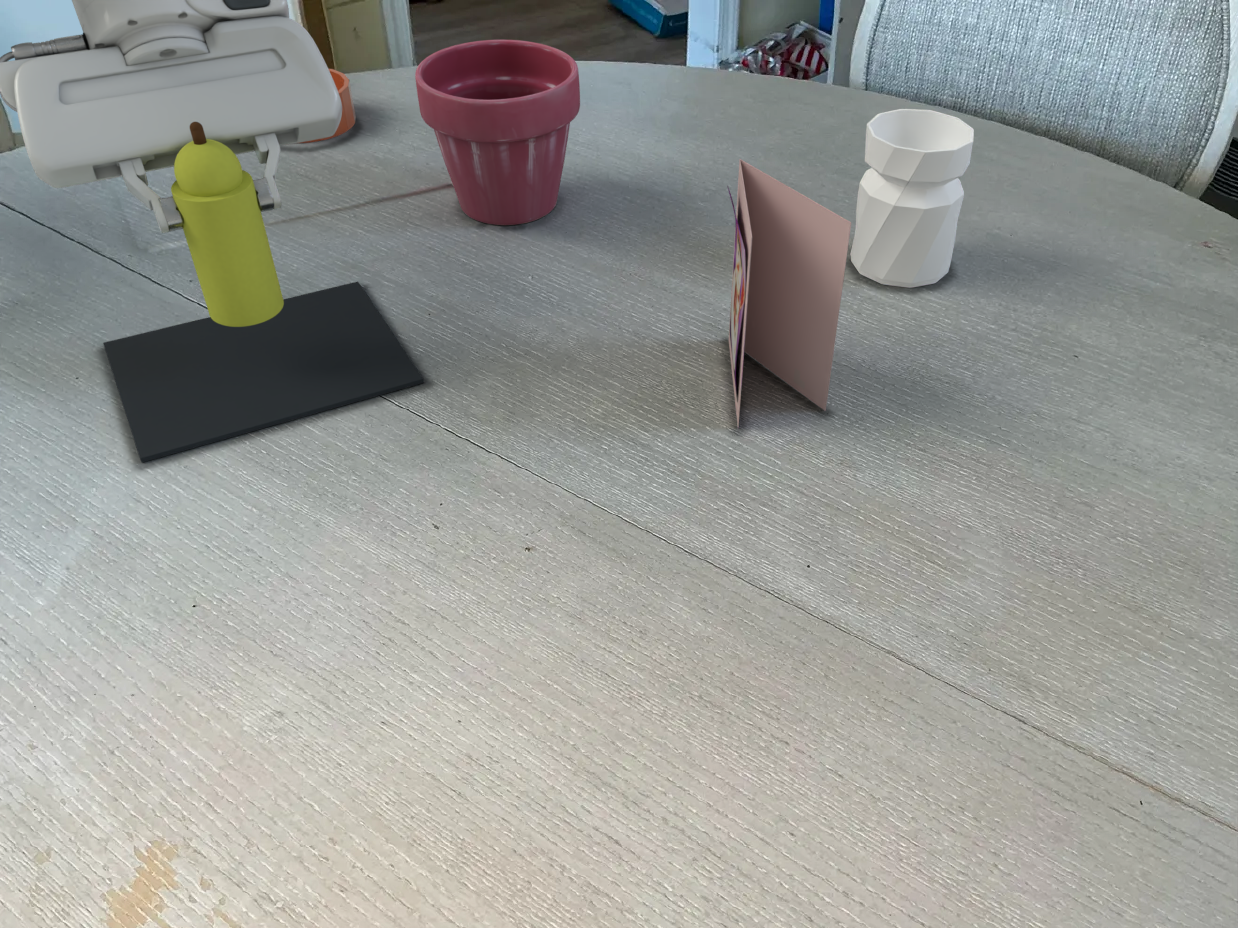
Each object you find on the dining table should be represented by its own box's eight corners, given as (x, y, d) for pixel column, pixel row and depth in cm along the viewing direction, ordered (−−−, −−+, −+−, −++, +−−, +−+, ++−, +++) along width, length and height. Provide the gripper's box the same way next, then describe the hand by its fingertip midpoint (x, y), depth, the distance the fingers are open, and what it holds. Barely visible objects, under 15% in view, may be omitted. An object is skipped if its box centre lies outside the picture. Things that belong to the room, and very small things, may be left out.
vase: (969, 273, 96) (999, 140, 88) (888, 297, 93) (911, 160, 85) (908, 230, 102) (930, 101, 94) (829, 251, 98) (845, 119, 91)
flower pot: (537, 253, 97) (527, 110, 89) (403, 220, 101) (380, 80, 93) (609, 188, 107) (606, 53, 99) (484, 160, 111) (470, 29, 103)
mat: (141, 463, 75) (139, 458, 74) (104, 346, 85) (102, 342, 85) (424, 383, 82) (423, 378, 82) (358, 285, 93) (357, 281, 92)
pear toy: (218, 334, 78) (159, 145, 68) (202, 300, 81) (145, 115, 72) (292, 315, 80) (245, 129, 70) (273, 283, 83) (226, 101, 74)
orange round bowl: (270, 155, 111) (260, 111, 108) (245, 118, 118) (235, 76, 115) (369, 136, 115) (361, 93, 112) (339, 101, 122) (332, 60, 119)
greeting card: (717, 339, 87) (727, 158, 77) (810, 340, 88) (832, 159, 78) (725, 428, 79) (737, 237, 69) (829, 428, 79) (856, 238, 69)
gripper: (-28, 24, 68) (49, 236, 68) (303, -21, 76) (372, 169, 76) (-6, 73, 74) (65, 268, 74) (300, 26, 81) (363, 203, 82)
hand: (223, 217), depth 75 cm, fingers closed on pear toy, 5 cm apart
